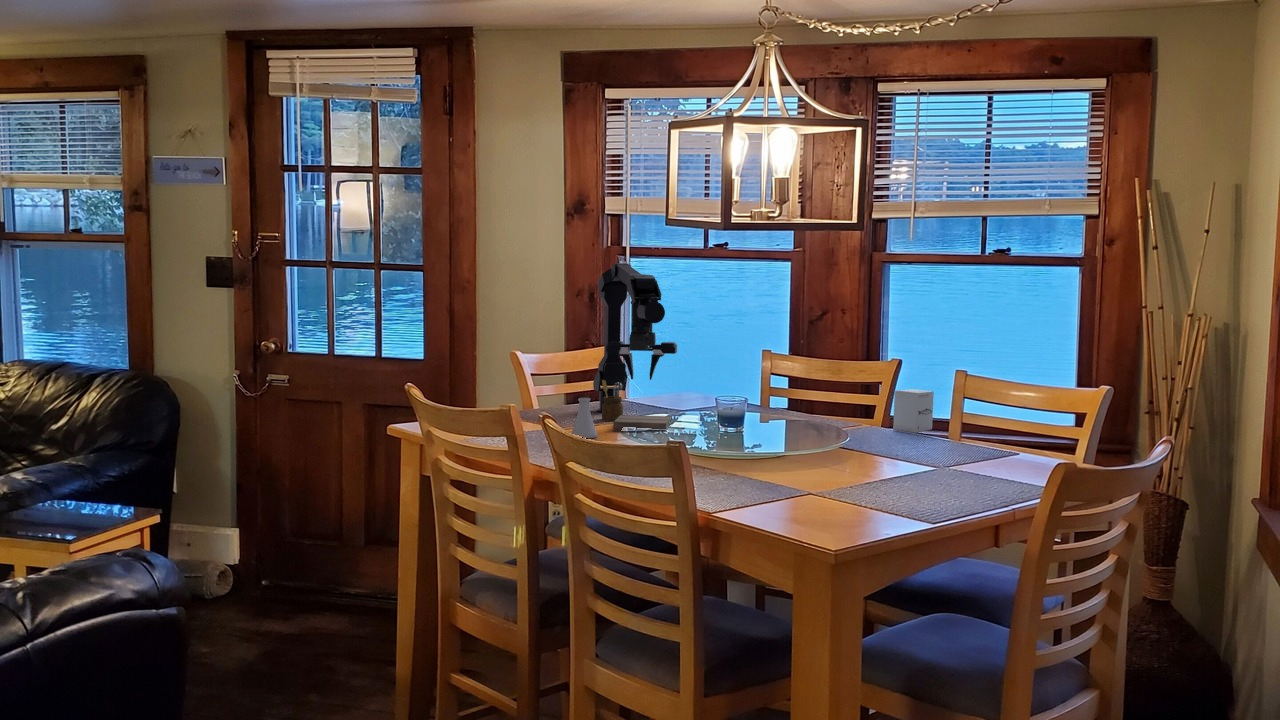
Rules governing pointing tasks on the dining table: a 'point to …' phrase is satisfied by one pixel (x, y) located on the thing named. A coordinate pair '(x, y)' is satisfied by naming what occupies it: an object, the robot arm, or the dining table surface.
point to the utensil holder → (611, 405)
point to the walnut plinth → (641, 422)
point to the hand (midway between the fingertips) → (641, 379)
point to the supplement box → (913, 410)
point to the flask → (584, 420)
